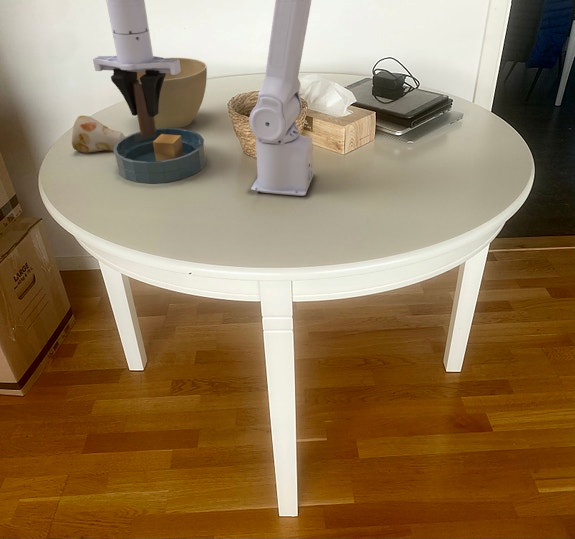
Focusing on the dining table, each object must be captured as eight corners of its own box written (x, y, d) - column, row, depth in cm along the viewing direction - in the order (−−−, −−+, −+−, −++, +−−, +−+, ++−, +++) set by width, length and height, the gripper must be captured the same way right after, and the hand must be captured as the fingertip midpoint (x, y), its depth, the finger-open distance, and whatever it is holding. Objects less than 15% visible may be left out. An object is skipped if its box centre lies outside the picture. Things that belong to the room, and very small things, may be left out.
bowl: (217, 152, 104) (215, 130, 102) (188, 190, 91) (184, 166, 89) (141, 146, 107) (137, 125, 105) (102, 182, 94) (96, 158, 92)
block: (183, 155, 102) (181, 135, 100) (176, 163, 99) (173, 143, 97) (164, 153, 103) (161, 133, 100) (156, 162, 100) (152, 141, 97)
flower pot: (223, 113, 122) (218, 58, 115) (193, 143, 108) (185, 83, 101) (152, 108, 126) (143, 54, 119) (114, 136, 112) (101, 77, 105)
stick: (159, 130, 95) (150, 79, 90) (152, 136, 93) (143, 84, 88) (144, 129, 96) (135, 79, 90) (137, 135, 93) (128, 83, 88)
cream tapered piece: (127, 158, 103) (90, 119, 96) (91, 175, 107) (53, 138, 101) (137, 135, 108) (102, 96, 101) (102, 152, 112) (66, 115, 105)
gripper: (76, 34, 82) (96, 119, 90) (163, 37, 80) (175, 125, 88) (98, 25, 88) (115, 106, 96) (180, 27, 85) (190, 110, 93)
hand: (145, 114), depth 92 cm, fingers closed on stick, 3 cm apart
